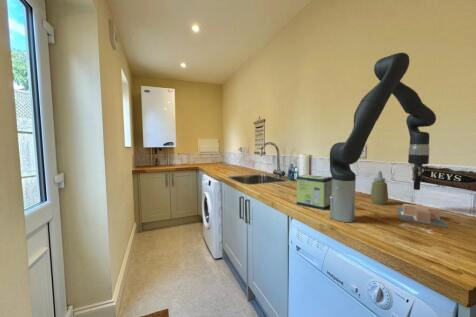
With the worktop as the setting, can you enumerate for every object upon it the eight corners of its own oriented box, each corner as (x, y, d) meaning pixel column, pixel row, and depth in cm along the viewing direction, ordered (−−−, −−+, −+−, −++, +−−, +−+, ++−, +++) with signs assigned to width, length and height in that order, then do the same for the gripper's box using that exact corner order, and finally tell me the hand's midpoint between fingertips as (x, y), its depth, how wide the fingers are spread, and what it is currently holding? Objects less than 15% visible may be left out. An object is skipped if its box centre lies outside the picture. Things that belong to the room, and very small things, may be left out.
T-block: (405, 218, 89) (405, 209, 89) (402, 212, 98) (403, 203, 98) (444, 224, 82) (444, 214, 82) (437, 216, 91) (437, 207, 91)
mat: (400, 221, 88) (400, 219, 88) (396, 207, 106) (396, 206, 106) (449, 228, 79) (449, 227, 79) (436, 212, 98) (436, 211, 98)
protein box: (305, 200, 121) (305, 174, 121) (332, 206, 110) (332, 177, 110) (295, 204, 114) (296, 176, 113) (324, 210, 103) (324, 179, 102)
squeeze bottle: (373, 205, 110) (374, 172, 109) (367, 201, 118) (368, 170, 117) (390, 206, 108) (392, 172, 107) (384, 202, 116) (385, 170, 115)
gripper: (407, 153, 108) (405, 186, 109) (410, 154, 97) (408, 191, 98) (426, 153, 103) (424, 188, 104) (431, 154, 92) (429, 193, 93)
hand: (416, 189), depth 101 cm, fingers closed
